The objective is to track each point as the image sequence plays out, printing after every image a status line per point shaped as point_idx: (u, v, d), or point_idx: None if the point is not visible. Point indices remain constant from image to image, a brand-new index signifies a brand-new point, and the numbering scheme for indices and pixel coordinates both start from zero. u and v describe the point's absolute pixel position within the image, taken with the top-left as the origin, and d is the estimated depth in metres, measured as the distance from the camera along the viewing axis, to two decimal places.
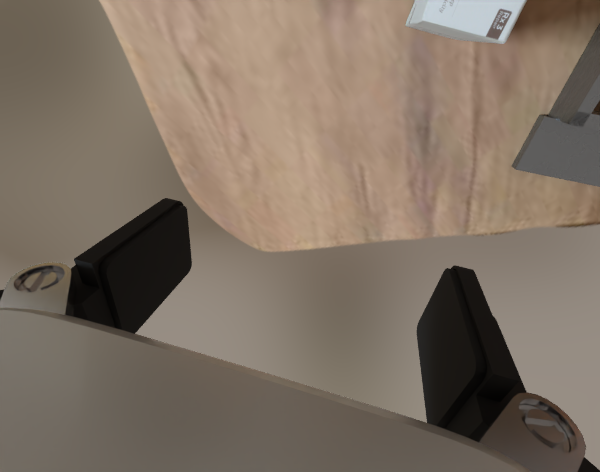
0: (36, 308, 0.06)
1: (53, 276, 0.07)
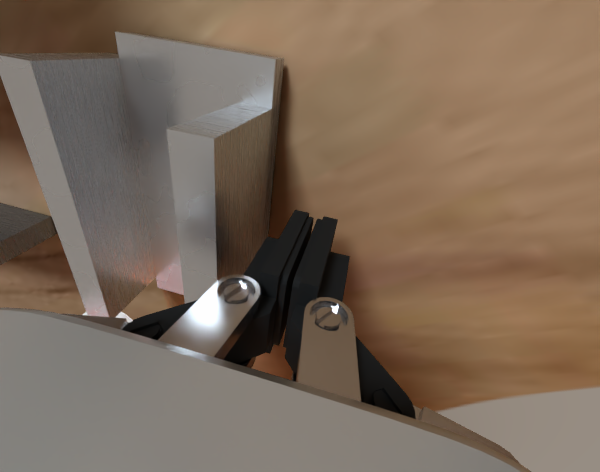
0: (214, 319, 0.07)
1: (245, 294, 0.08)
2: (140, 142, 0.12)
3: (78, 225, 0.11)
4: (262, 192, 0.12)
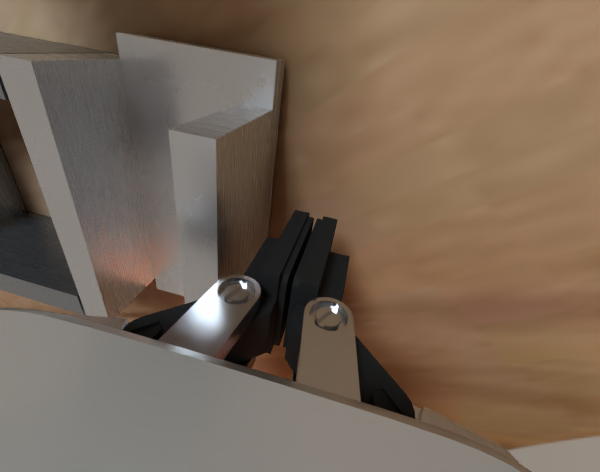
0: (214, 320, 0.07)
1: (245, 294, 0.08)
2: (140, 143, 0.12)
3: (78, 226, 0.11)
4: (262, 192, 0.12)
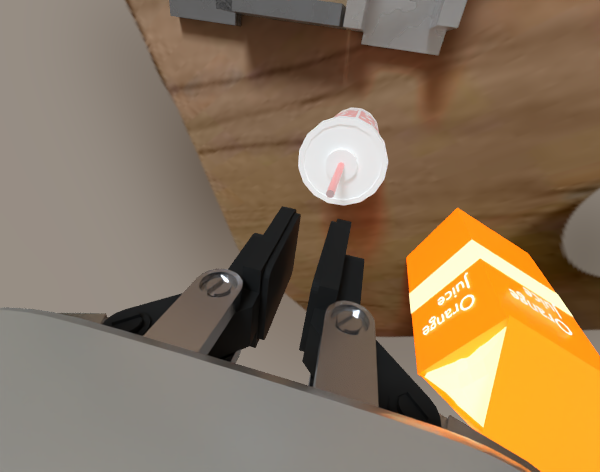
0: (198, 313, 0.07)
1: (227, 287, 0.08)
2: None
3: None
4: None
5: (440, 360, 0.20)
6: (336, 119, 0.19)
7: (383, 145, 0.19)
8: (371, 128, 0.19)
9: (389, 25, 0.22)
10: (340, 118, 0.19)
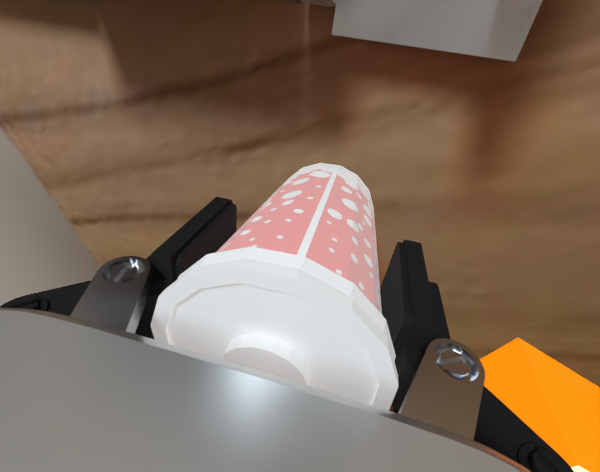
0: (112, 300, 0.07)
1: (134, 271, 0.08)
2: None
3: None
4: None
5: None
6: (231, 271, 0.06)
7: (384, 350, 0.06)
8: (344, 306, 0.06)
9: None
10: (243, 269, 0.06)
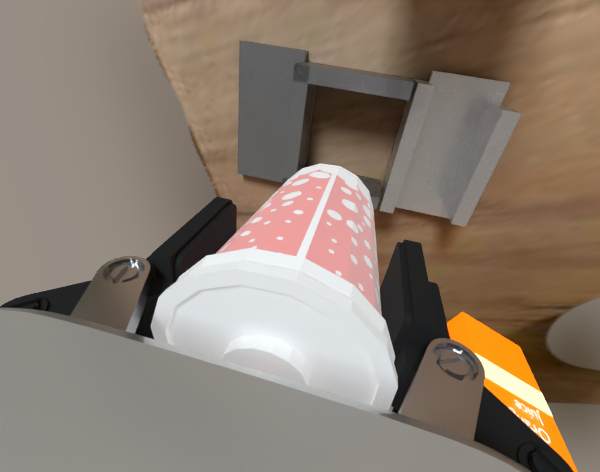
0: (112, 300, 0.07)
1: (134, 271, 0.08)
2: None
3: (409, 157, 0.24)
4: None
5: None
6: (231, 272, 0.06)
7: (383, 352, 0.06)
8: (344, 307, 0.06)
9: (412, 197, 0.29)
10: (243, 271, 0.06)
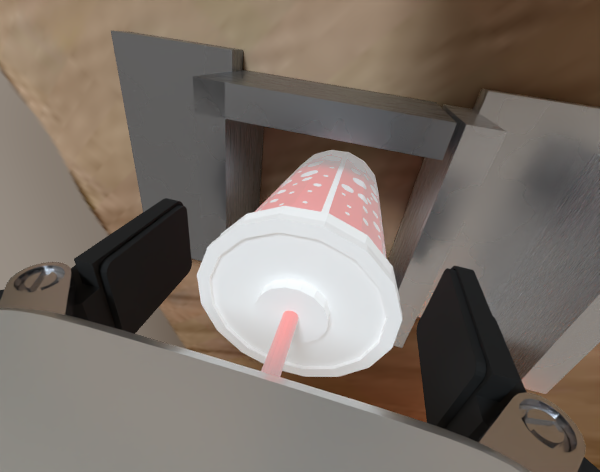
0: (36, 308, 0.06)
1: (53, 276, 0.07)
2: None
3: (438, 265, 0.12)
4: None
5: None
6: (271, 222, 0.07)
7: (391, 287, 0.08)
8: (361, 248, 0.07)
9: None
10: (281, 220, 0.07)
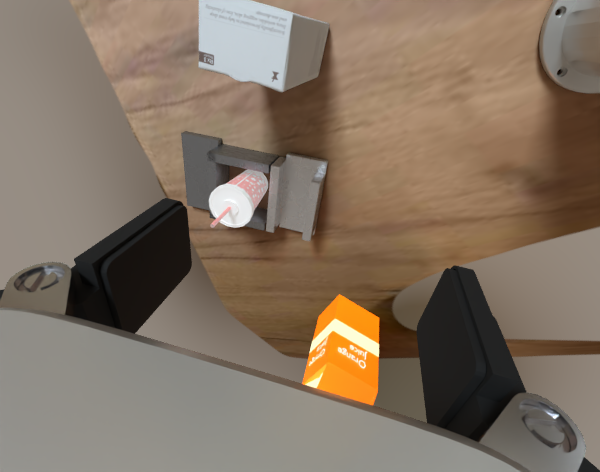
0: (36, 308, 0.06)
1: (53, 276, 0.07)
2: (286, 179, 0.44)
3: (275, 202, 0.43)
4: (321, 193, 0.44)
5: (309, 378, 0.46)
6: (223, 186, 0.38)
7: (247, 199, 0.39)
8: (240, 191, 0.38)
9: (290, 221, 0.48)
10: (225, 186, 0.38)
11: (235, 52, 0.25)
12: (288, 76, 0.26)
